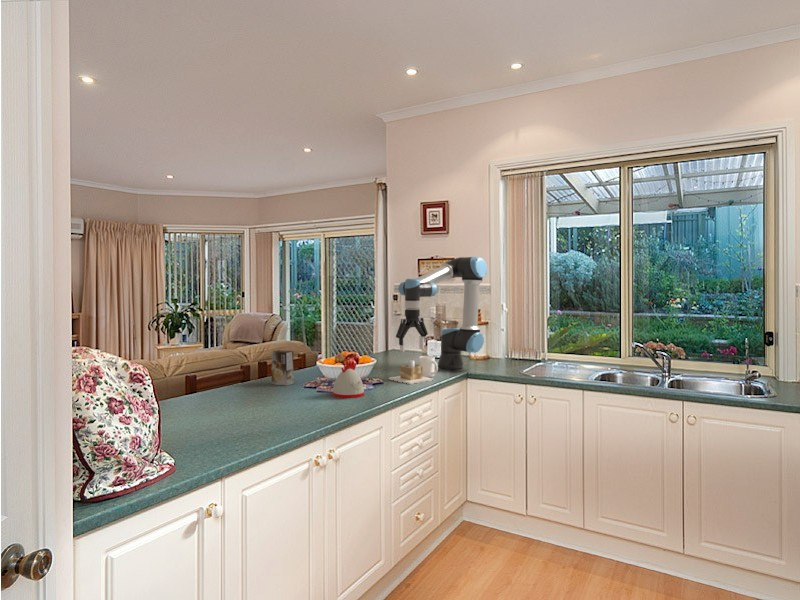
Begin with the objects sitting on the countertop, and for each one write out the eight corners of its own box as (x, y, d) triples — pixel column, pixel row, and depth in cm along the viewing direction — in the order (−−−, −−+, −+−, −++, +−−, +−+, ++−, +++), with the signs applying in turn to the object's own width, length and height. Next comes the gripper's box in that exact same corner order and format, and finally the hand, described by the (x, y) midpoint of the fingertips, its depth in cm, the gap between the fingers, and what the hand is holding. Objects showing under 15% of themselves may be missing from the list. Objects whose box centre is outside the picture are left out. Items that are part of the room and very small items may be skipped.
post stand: (411, 375, 279) (412, 357, 278) (433, 380, 267) (433, 361, 266) (389, 379, 268) (389, 360, 268) (410, 384, 256) (410, 364, 256)
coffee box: (294, 383, 255) (294, 351, 254) (286, 386, 249) (286, 352, 248) (278, 381, 259) (278, 349, 258) (270, 384, 253) (270, 351, 252)
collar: (411, 376, 273) (411, 364, 273) (422, 378, 267) (422, 366, 267) (400, 377, 268) (400, 366, 267) (411, 380, 262) (411, 368, 262)
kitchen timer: (370, 395, 232) (370, 361, 232) (347, 400, 222) (347, 365, 222) (349, 390, 242) (349, 358, 241) (326, 394, 232) (326, 361, 231)
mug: (442, 377, 276) (443, 358, 275) (431, 379, 270) (431, 359, 270) (426, 374, 285) (427, 355, 284) (415, 375, 279) (416, 356, 279)
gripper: (424, 307, 277) (424, 347, 278) (388, 309, 260) (388, 351, 261) (434, 308, 271) (434, 348, 273) (398, 310, 255) (398, 353, 256)
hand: (412, 350), depth 267 cm, fingers open, 13 cm apart
